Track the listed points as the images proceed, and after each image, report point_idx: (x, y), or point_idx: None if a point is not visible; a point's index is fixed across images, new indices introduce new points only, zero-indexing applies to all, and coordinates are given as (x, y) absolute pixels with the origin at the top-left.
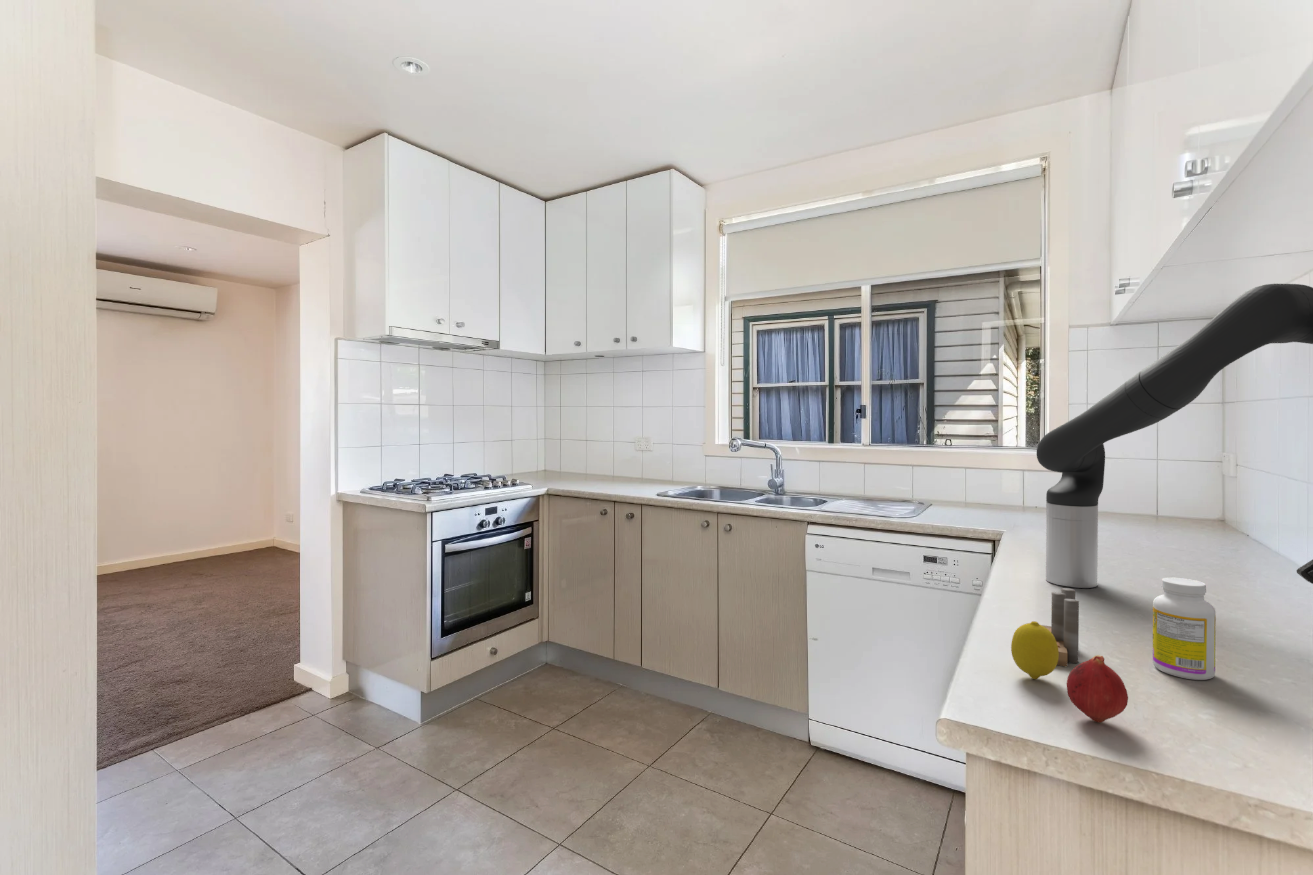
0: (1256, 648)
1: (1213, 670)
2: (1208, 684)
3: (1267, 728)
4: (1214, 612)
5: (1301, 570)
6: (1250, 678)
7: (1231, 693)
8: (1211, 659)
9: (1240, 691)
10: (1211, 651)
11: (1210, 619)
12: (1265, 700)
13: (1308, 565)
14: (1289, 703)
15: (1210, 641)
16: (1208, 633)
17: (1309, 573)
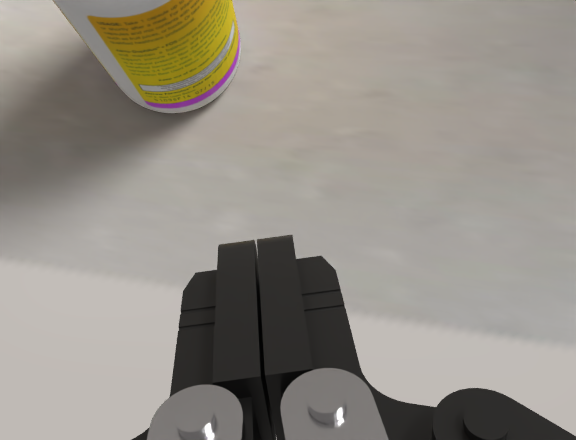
0: (550, 238)
1: (142, 102)
2: (111, 102)
3: None
4: (78, 4)
5: (236, 247)
6: (225, 191)
7: (73, 141)
8: (120, 82)
9: (101, 160)
10: (113, 70)
11: (63, 6)
12: (67, 202)
13: (240, 279)
14: (77, 248)
15: (97, 51)
16: (79, 31)
17: (194, 281)
